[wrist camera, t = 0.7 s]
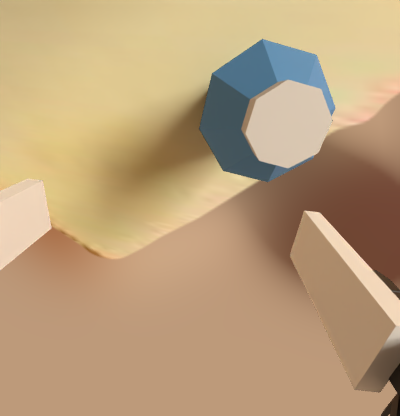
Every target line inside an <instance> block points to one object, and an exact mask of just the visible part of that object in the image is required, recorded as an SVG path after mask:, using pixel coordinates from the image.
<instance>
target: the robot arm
mask: <svg viewBox="0 0 400 416" xmlns="http://www.w3.org/2000/svg"><path fill="white" fill-rule="evenodd" d="M50 229H51V223H50V217H49V212H48V207H47V201H46V196H45V190H44V185H43V180H35V179H26V180H23V181H21V182H19V183H17V184H14V185H12V186H10V187H8V188H6V189H3V190H1V191H0V270H1V269H2V268H4V267H5V266H6V265H7V264H9V263H10V262H11V261H12V260H14V259H15V258H16V257H17V256H18V255H20V254H21V253H22V252H23V251H24V250H26V249H27V248H28V247H29V246H31V245H32V244H33V243H34V242H35V241H37V240H38V239H39V238H40V237H41V236H43V235H44V234H45V233H46V232H47V231H49V230H50ZM290 257H291V259H292V261H293V263H294V265H295V268H296V269H297V272H298V273H299V276H300V278H301V280H302V282H303V284H304V286H305V288H306V290H307V292H308V294H309V297H310V299H311V301H312V303H313V305H314V307H315V309H316V311H317V313H318V315H319V317H320V319H321V321H322V323H323V325H324V328H325V329H326V332H327V333H328V336H329V338H330V340H331V342H332V344H333V346H334V348H335V350H336V352H337V355H338V356H339V358H340V361H341V363H342V365H343V367H344V369H345V371H346V373H347V375H348V377H349V379H350V381H351V384H352V386H353V388H354V389H355V390H362V391H371V392H381V390H382V389H383V387H384V386H385V385H386V384H387V382H388V381H389V380H390V382H391V384H392V385H393V387H394V388H395V390H396V391H397V394H396V396H395V397H394V398H393V399H392V401H391V402H390V403H389V404H388V406H387V407H386V408H385V410H384V411H383V413H382V414H381V416H388V415H389V414H390V416H400V290H399V289H398V288H397V286H396V285H395V284H394V283H393V282H392V281H390V279H388V278H386V277H385V276H384V275H382V274H381V273H379V272H378V271H376V270H372V269H371V268H370V267H369V266H368V265H367V264H366V263H365V262H364V260H362V258H361V257H360V256H359V255H358V254H357V253H356V252H355V251H354V250H353V248H351V246H350V245H349V244H348V243H347V242H346V241H345V240H344V239H343V237H342V236H341V235H340V234H339V233H338V232H337V231H336V230H335V229H334V228H333V227H332V225H331V224H330V223H329V222H328V221H327V220H326V219H325V218H324V217H323V216H322V215H321V213H319V212H311V211H304V213H303V216H302V220H301V223H300V226H299V229H298V232H297V235H296V238H295V241H294V244H293V247H292V251H291V254H290Z"/></svg>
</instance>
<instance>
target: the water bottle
mask: <svg viewBox="0 0 400 416" xmlns="http://www.w3.org/2000/svg"><path fill="white" fill-rule="evenodd" d="M334 110H335V105H334V103H333V100H332V97H331V94H330V91H329V88H328V86H327V83H326V80H325V77H324V74H323V72H322V69H321V66H320V63H319V60H318V57H317V55H315V54H311V53H308V52H305V51H301V50H298V49H294V48H291V47H288V46H284V45H281V44H277V43H274V42H270V41H267V40H264V39H262V40H260V41H259V42H257V43H256V44H254V45H253V46H252V47H250V48H249V49H247V50H246V51H244V52H243V53H241V54H240V55H238V56H237V57H235V58H234V59H232V60H231V61H230V62H228V63H227V64H225V65H224V66H222V67H221V68H219V69H218V70H216V71H215V72H213V73H212V76H211V80H210V85H209V89H208V93H207V97H206V102H205V106H204V110H203V114H202V119H201V123H200V127H199V129H200V131H201V133H202V135H203V136H204V138H205V140H206V142H207V143H208V145H209V147H210V149H211V150H212V152H213V154H214V156H215V157H216V159H217V161H218V163H219V164H220V166H221V168H222V169H223V171H226V172H230V173H234V174H238V175H242V176H246V177H250V178H254V179H258V180H261V181H266V182H269V181H271V180H273V179H275V178H276V177H278V176H280V175H282V174H284V173H286V172H288V171H290V170H292V169H294V168H296V167H298V166H300V165H301V164H303V163H305V162H307V161H309V160H311V159H313V157H314V155H315V154H317V153H318V152H319V150H320V147H321V145H322V143H323V141H324V139H325V137H326V134H327V132H328V130H329V128H330V126H331V123H332V121H333V120H332V114H333V112H334Z"/></svg>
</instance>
